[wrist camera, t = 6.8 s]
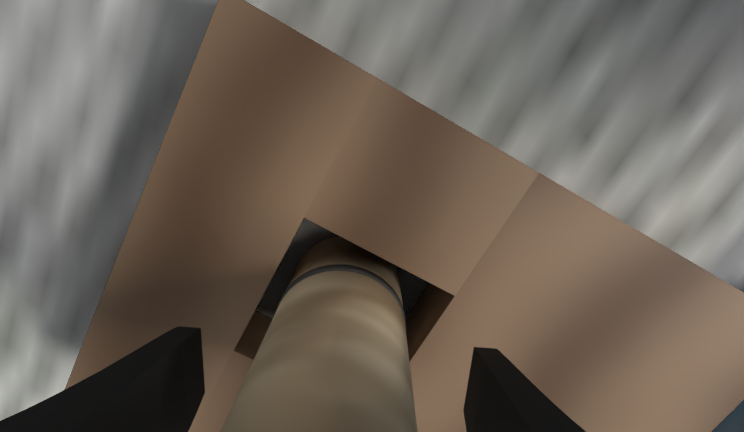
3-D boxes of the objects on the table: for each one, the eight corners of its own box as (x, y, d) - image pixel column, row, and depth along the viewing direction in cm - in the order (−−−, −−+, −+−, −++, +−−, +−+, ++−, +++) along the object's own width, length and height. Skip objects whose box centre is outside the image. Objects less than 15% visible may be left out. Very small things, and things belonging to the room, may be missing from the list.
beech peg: (406, 240, 15) (438, 401, 7) (394, 337, 16) (411, 565, 8) (295, 230, 15) (203, 381, 7) (291, 328, 16) (210, 549, 8)
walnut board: (742, 294, 15) (811, 332, 13) (524, 531, 19) (545, 595, 16) (252, 8, 12) (223, -13, 10) (110, 348, 16) (63, 392, 14)
